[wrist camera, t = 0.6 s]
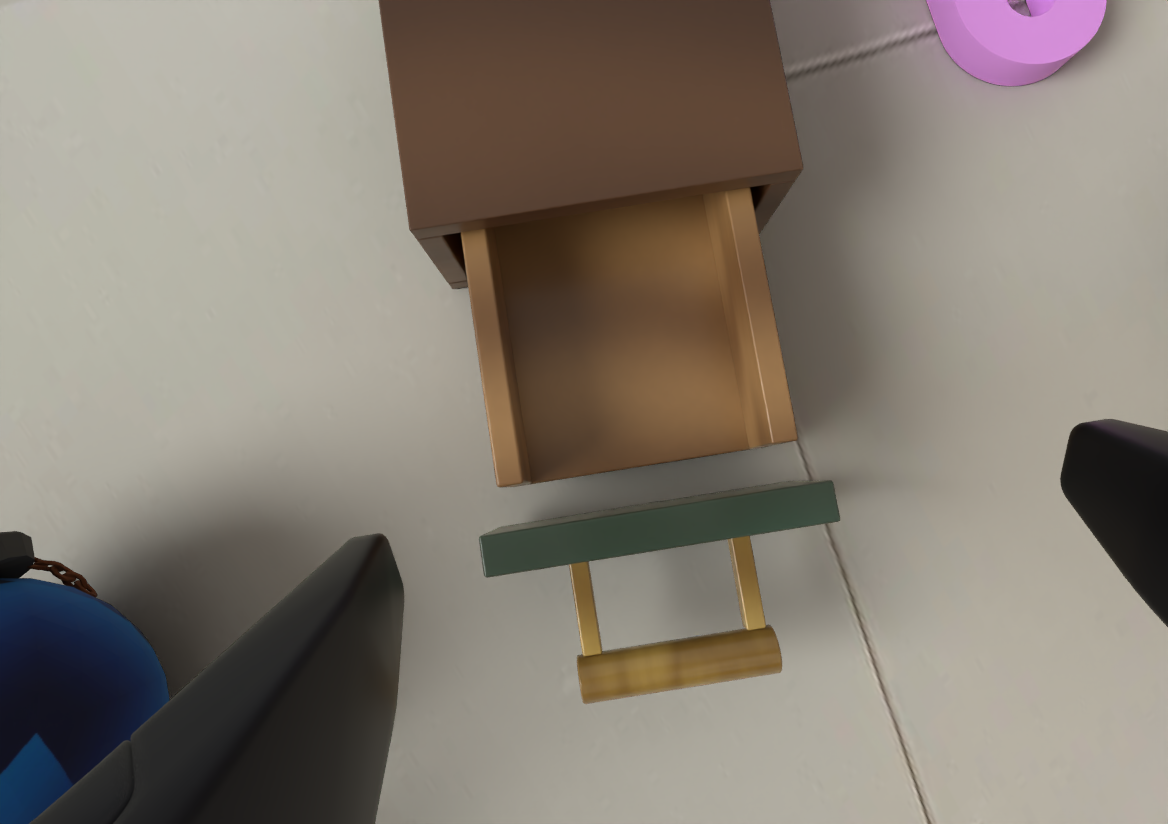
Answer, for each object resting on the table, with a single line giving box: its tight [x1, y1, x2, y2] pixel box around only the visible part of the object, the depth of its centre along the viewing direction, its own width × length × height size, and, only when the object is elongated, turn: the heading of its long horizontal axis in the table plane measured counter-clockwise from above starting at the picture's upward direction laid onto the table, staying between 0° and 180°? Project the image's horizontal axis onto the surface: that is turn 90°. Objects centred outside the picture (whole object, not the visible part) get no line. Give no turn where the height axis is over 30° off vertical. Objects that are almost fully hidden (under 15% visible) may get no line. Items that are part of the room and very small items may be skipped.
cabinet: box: [379, 0, 803, 289], centre depth 24 cm, size 14×12×6 cm
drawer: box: [461, 187, 840, 704], centre depth 22 cm, size 17×10×4 cm, turn 9°
